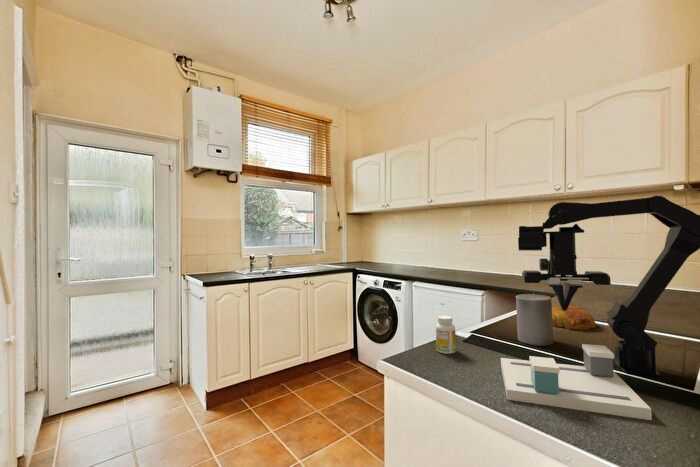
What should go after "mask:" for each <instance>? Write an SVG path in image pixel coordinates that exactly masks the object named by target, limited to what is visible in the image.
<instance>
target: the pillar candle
mask: <svg viewBox="0 0 700 467" xmlns="http://www.w3.org/2000/svg"><path fill="white" fill-rule="evenodd" d="M515 300H516V301H515V302H516V303H515V304H516V328H517V330H516V331H517V340H518V341H519V342H521V343H523V344H529V345H533V346H538V347H541V346H545V347H546V346H551V345H553V344H554V341H555V340H554V327H553V326H554V325H553V320H552V307H553V305H552V304H553V303H552V297H551V296H549V295H544V294H535V292H533V293H532V294H531V293H522V294H517V295H516V296H515Z"/></svg>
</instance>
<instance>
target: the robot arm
mask: <svg viewBox="0 0 700 467" xmlns="http://www.w3.org/2000/svg"><path fill="white" fill-rule="evenodd" d="M644 214H649V215H650V216H652V217H654V218H655V219H656V220H657V221H659V222H660V223H661V224H662V225H664V226H666V227H667V228H669V230H668V232H667V235H666V238H665V243H664V246H663V249H662V250H661V252H660V254H659V255H658V256H657V257H656V260H655V261H654V262H653V263H652V265H651V266H650V268H649V270H648V271H647V272H646V274H645V275H644V277H643V278H642V279H641V281H640V282H639V283H638V285H637V286H636V288H635V289H634V291H632V294H631V295H630V297H629V298H628V299H626V300H624V301H623V302H622V303H621V302H620V301H618V300H614V302H613V304H612V307H611V309H609V310H608V311H606V312H605V313H606V314H607V317H606V322H607V325H608V327H609V328H610V329H611V330H612V332H613V333H614V334H615V336H616V337H618V338H620V339H621V340H616V346H615V347H614V359H615V360H614V362H615V365H617V367H619V368H620V369H621V370H622V371H623V372H624V373H626V374H634V375H643V376H654V377H661V375H660V374H661V373H659V372H658V371H657V361H656V357H657V356H656V347H657V345H658V342H657V341H656V340H655V339H654V338H653V337H651V335H649V333H647V332H646V330H645V329H647V328H646V327H647V325H648V322H649V318H650V313H651V310H652V308H653V306H654V305H655V304H656V303H657V301H658V300H659V298H660V297H661V295H662V294H663V292H664V291H665V290H666V288H667V287H668V286H669V285H670V283H671V282H672V280H673V279H674V277H675V276H676V275H677V273H678V272H679V271H680V269H681V268H682V267H683V265H684V264H685V262H686V261H687V259H688V258H689V257H690V256H691V255H693V254H694V253H696V252H698V251H699V250H700V214H697V213H695V212H694V211H692V210H690V209H688V208H686V207H684V206H681V205H680V204H677V203H674V202H673V201H671V200H670V199H667V198H666V197H665V196H662V195H653V196H650V197H641V198H632V199H623V200H613V201H606V202H605V201H604V202H595V203H584V202H573V201H572V202H571V201H569V202H568V201H567V202H565V201H560V202H557V203H555V204H553V205H552V206H551V207H550V209H549V210H548V214H547V217H548V218H547V219H546V221H544V222H542V225H537V226H525V225H519V226H518V238H517V239H518V240H517V244H518V251H522V252H524V251H525V252H528V251H529V252H530V251H533V252H534V251H536V252H537V251H543V248H546V247H547V244H548V242H547V241H549V259H548V258H539V259H538V260H539V261H538V262H539V270H527V269H526V270H523V271H522V272H521V280H522V282H523V283H525V284H539V283H540V282H541V281H546V282H545V285H547V286H548V287H550V288H552V290H553V292H554V293H555V295H556V299H557V300H558V303H559V306H561V308H562V310H563V311H566V310H567V308H568V306H569V305H571V301H572V300H573V297H574V296H575V294H576V293H577V291H578V289H581V288H582V289H583V288H584V285H583V284H582V282H589V283H590V282H591V283H593V284H594V285H596V286H597V285H598V286H611V284H612V283H611V280H612V279H611V277H610V275H609V274H608V273H607V272H603V271H599V270H598V271H597V270H596V271H593V270H591V271H589V270H587V271H584V273H578V271H577V258H578V257H577V250H576V249H577V248H576V234H583V233H585V229H582V228H581V227H580V226H579V224H578V223H577V222H581V221H586V220H588V219H594V218H595V219H596V218H598V219H599V218H609V217H619V216H620V217H621V216H632V215H644ZM572 223H574V224H573V225H572V226H564V225H567V224H568V225H569V224H572ZM556 226H559V227H558V231H556V230H554V231H545V230H550V229H553V228H554V227H556ZM547 234H548V235H549V238H548V237H547ZM547 239H548V240H547ZM543 271H544V272H545V271H546V272H547V273H543ZM561 282H563V284H562V283H561Z"/></svg>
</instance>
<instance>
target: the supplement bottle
mask: <svg viewBox="0 0 700 467" xmlns="http://www.w3.org/2000/svg"><path fill="white" fill-rule="evenodd" d="M437 322H438V323H437V324H436V326H435V339H436V340H435V341H436V343H435V345H436V348H435V349H436V351H437V352H439V353H441V354H445V355H448V354H455V352H456V350H457V348H456V347H457V346H456V345H457V344H456V342H457V340H456V327H455V326H456V325H454V324H453V317H452V316H449V315H439V316H438V317H437Z"/></svg>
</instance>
